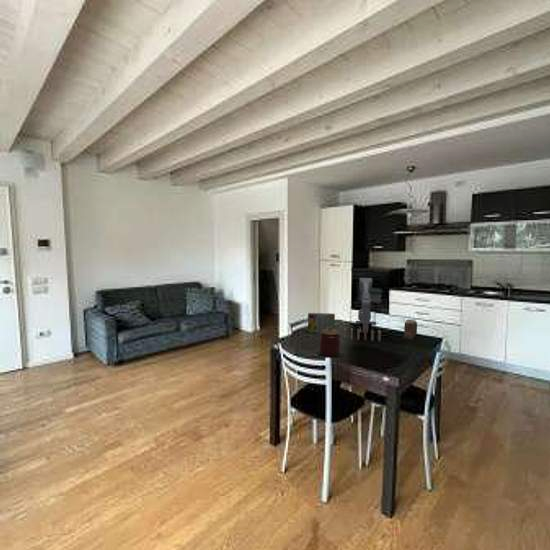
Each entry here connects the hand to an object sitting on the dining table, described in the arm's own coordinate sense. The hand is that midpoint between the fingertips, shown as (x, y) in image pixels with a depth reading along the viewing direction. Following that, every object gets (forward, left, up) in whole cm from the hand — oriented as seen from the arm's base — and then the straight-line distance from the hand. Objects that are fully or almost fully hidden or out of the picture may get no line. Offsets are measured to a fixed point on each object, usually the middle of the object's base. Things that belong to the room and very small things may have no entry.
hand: (365, 333), depth 249 cm
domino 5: (0, +10, -4) cm, 11 cm away
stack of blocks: (-19, +35, -5) cm, 40 cm away
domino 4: (0, +5, -4) cm, 7 cm away
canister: (+39, -24, -5) cm, 46 cm away
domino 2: (0, -10, -4) cm, 11 cm away
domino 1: (0, -15, -4) cm, 16 cm away
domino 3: (0, -5, -4) cm, 7 cm away
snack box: (-13, -34, -5) cm, 37 cm away
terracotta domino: (0, 0, -4) cm, 4 cm away
